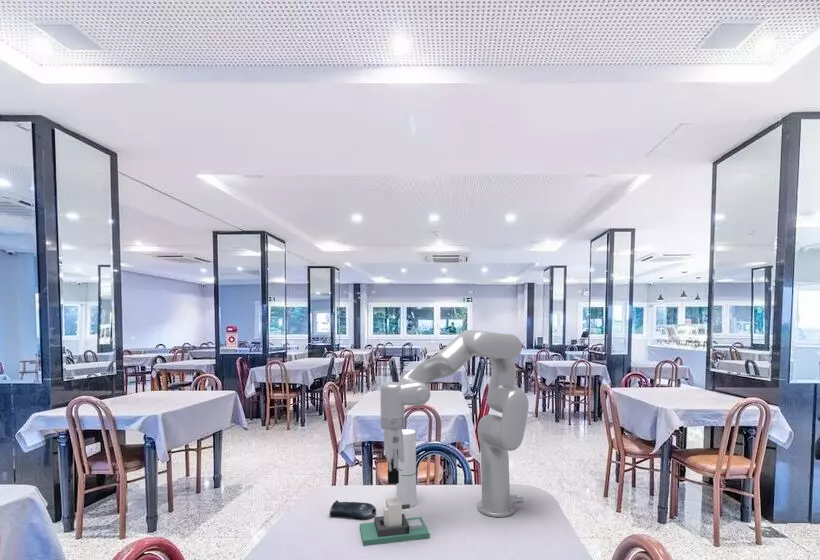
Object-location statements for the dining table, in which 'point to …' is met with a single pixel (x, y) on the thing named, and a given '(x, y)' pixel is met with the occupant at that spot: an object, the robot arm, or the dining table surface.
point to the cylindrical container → (407, 470)
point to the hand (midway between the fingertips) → (393, 482)
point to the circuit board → (393, 531)
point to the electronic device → (352, 510)
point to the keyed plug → (394, 512)
